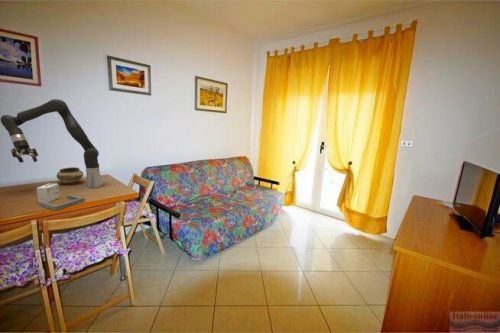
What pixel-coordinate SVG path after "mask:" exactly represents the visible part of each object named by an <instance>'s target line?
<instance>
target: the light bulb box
mask: <svg viewBox="0 0 500 333" xmlns="http://www.w3.org/2000/svg"><path fill="white" fill-rule="evenodd" d="M36 194H37V199H38V203H39V202H42V201H43V202H47V203H51V202H53V201H55V200H57V199H59V198H61V197H60V196H61V195H60V186H59V183H46V184H44V185H41V186H38V187H36Z"/></svg>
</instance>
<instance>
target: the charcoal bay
mask: <svg viewBox="0 0 500 333" xmlns="http://www.w3.org/2000/svg"><path fill="white" fill-rule="evenodd" d="M66 199H67V200H68V199H69V201H67V202H62V203H60V204H54V203H51V202H49V203H47V202H43V201H42V202H39V201H38V205H39V207H42V208H45V209H46V208H47V209H49V210H51V211H52V210H53V211H59V210H61V209H62V210H63V209H64V208H67V207H71V206H74V205H78V204H80V203H83V202H86V200H85V197H81V196H77V195H74V194H66Z"/></svg>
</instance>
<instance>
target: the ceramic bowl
mask: <svg viewBox="0 0 500 333" xmlns="http://www.w3.org/2000/svg"><path fill="white" fill-rule="evenodd" d="M83 177H84V172H83V171H82V170H80V168H79V167H74V166H72V167H65V168H64V167H63V168H61V169H59V171H57V173H56V179H58V180H59V181H60V182H62V183H64V184H65V185H75V184H78V183H79V181H80V180H81V179H82V178H83Z"/></svg>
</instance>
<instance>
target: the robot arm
mask: <svg viewBox="0 0 500 333" xmlns="http://www.w3.org/2000/svg"><path fill="white" fill-rule="evenodd" d="M55 112H56V113H58V115H59V116H60V117H61V118H62V120H63V123H64V126H65V129H66V130H67V132H68V133H69V135H70V136H71V137H72V139H73V140H75V141H76V142H77V143H79V145H80V146H81V147H82V149H83V151H84V152H83V160H84V165H85V172H86V180H87V181H86V183H87V188H88V189H97V188H100V187H102V186H103V180H102V175H101V171H100V163H99V159H98V157H99V154H100V152H99V150H98V149H97V148H96V146H94V145H93V143H92V142H91V141H90V139H89V137H88V136H87V134H86V132H85V130H84V129H83V127H82V126H81V125H80V124H79V122H78V120H77V119H76V118H75V117H74V115H73V114H72V112H71V110H70V109H69V106H68V105H67V102H65V101H64V100H63V99H59V98H58V99H56V98H54V99H50V100H49V101H47V102H45V103H43V104H40V105H39V106H35V107H33V108H29V109H26V110H22V111H19V112H18V113H16V116H12V115H8V114H4V115H2V116H1V117H0V123H1V125H2V126H3V127H4V128H5V129H6V131H7V132H8V135H9V137H10V140H11V143H12V145H13V148H11V149H10V152H11V155H12V157H13V158H16V159H17V161H18V162H19V163H20V164H22V163H24V159H23V157H22V156H28V157H31V158H32V161H33V162H34V163H36V162H38V158H37V157H38V156H39V153H38V151H37V149H36V148H31V147H30V144H29V142H28V140H27V137H26V136H25V134H24V132H23V130H22V129H21V127H19V126H21V125H24V124H25V123H26V122H29V121H32V120H34V119H35V120H36V119H37V118H40V117H41V116H43V115H46V114H50V113H55Z"/></svg>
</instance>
